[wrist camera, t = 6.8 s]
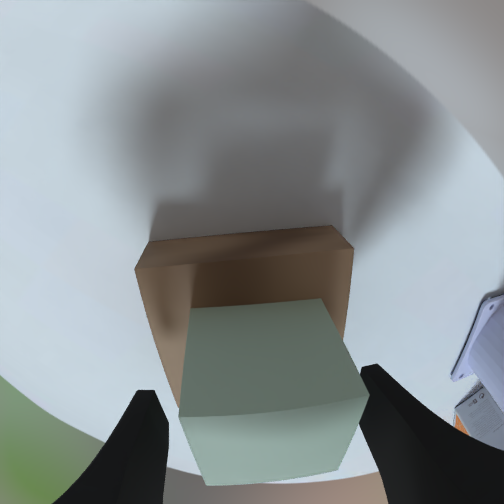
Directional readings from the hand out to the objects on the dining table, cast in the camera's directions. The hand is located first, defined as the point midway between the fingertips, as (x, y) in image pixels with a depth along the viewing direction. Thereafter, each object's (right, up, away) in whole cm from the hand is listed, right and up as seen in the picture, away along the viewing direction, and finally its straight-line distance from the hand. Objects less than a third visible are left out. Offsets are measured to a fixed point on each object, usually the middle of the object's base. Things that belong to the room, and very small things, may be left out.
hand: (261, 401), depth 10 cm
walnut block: (-1, +3, +5) cm, 6 cm away
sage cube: (0, +1, +3) cm, 3 cm away
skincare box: (+23, -12, +14) cm, 30 cm away
